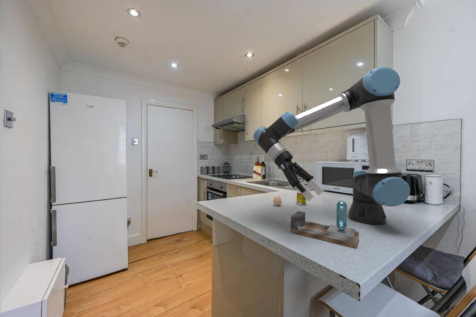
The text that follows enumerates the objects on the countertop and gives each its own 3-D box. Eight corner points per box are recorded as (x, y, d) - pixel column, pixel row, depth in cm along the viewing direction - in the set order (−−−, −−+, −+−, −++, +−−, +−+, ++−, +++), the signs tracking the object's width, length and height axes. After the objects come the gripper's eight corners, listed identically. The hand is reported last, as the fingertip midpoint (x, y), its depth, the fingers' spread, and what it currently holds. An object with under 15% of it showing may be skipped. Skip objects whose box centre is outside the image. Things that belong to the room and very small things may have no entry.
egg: (276, 204, 120) (276, 194, 120) (283, 205, 117) (283, 196, 117) (271, 205, 117) (271, 195, 117) (278, 207, 113) (278, 197, 113)
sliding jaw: (326, 235, 69) (327, 201, 68) (331, 229, 74) (331, 197, 74) (353, 241, 64) (353, 204, 64) (355, 234, 69) (355, 200, 69)
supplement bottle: (302, 206, 116) (302, 189, 116) (294, 204, 121) (294, 187, 121) (307, 204, 119) (308, 188, 119) (300, 203, 124) (300, 187, 124)
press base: (290, 232, 76) (290, 215, 76) (298, 226, 82) (298, 211, 82) (356, 248, 63) (356, 228, 63) (358, 239, 69) (359, 221, 69)
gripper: (285, 161, 94) (317, 196, 85) (259, 162, 74) (298, 208, 65) (296, 150, 91) (331, 185, 82) (272, 148, 71) (314, 194, 62)
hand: (316, 195), depth 73 cm, fingers open, 13 cm apart
